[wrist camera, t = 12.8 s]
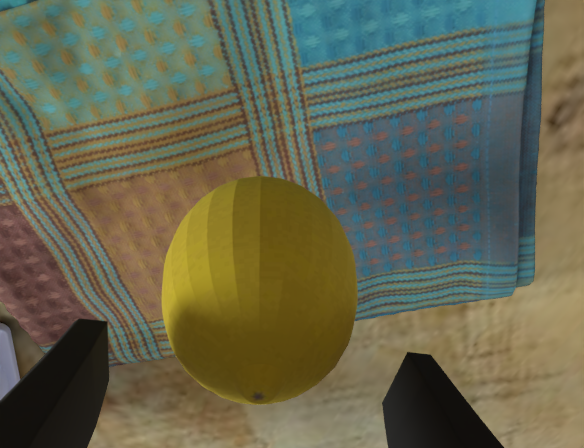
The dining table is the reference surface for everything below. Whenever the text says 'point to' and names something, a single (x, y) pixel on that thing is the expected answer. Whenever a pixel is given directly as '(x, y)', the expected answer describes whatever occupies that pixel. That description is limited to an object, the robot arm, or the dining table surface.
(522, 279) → the dish towel
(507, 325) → the dining table surface
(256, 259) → the lemon
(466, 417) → the robot arm
